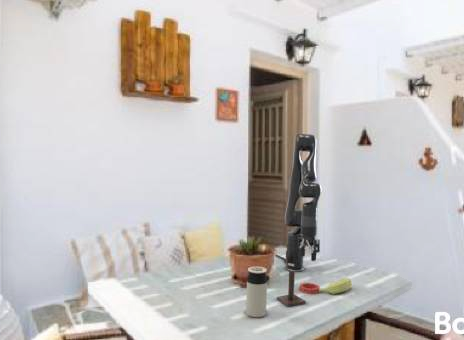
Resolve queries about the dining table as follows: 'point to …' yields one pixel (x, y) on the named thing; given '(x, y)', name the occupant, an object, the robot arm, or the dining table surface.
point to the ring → (306, 286)
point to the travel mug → (256, 292)
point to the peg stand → (291, 294)
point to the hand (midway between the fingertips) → (307, 258)
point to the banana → (338, 286)
